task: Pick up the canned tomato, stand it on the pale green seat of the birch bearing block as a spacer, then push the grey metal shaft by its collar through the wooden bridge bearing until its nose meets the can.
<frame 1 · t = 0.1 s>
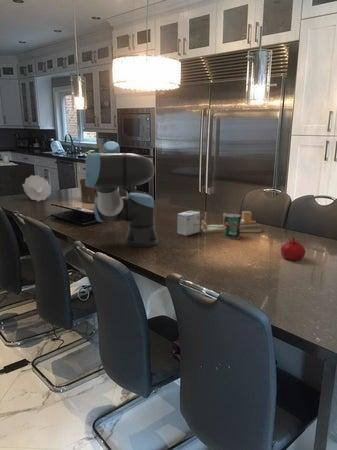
hand: (114, 199, 198), 15 cm above the table, tool tilted 35°, fingers open, 13 cm apart
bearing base: (230, 229, 200), on the table
pomegranate: (292, 258, 157), on the table
plant pot: (91, 202, 270), on the table
canned tomato: (231, 236, 188), on the table
light bulb box: (188, 233, 194), on the table
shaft: (241, 219, 199), point 6 cm above the table, slide at 6.0 cm
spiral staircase: (37, 199, 278), on the table
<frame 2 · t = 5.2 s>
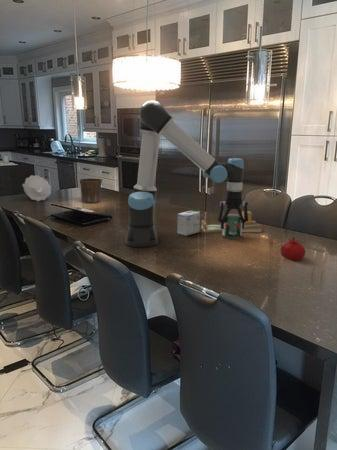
hand: (231, 234, 188), 1 cm above the table, tool pointing down, fingers closed on canned tomato, 8 cm apart
canned tomato: (231, 236, 188), on the table, touching gripper
everything else where it was.
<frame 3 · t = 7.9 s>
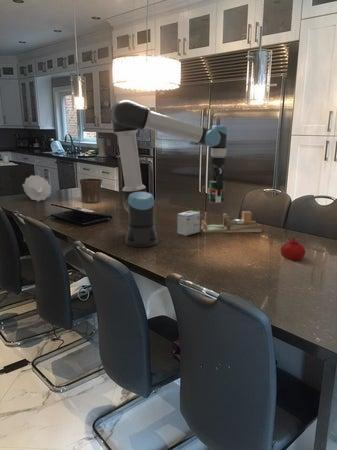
hand: (216, 200, 195), 16 cm above the table, tool pointing down, fingers closed on canned tomato, 8 cm apart
canned tomato: (216, 202, 195), point 15 cm above the table, touching gripper
everything else where it was.
when the fingers open (4 cm above the table, at t = 10.4 s): canned tomato drops 1 cm, resting on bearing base.
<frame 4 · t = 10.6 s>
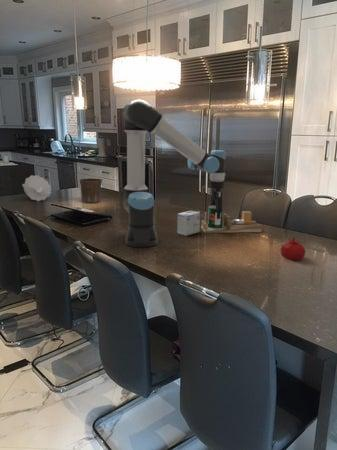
hand: (215, 221, 198), 4 cm above the table, tool pointing down, fingers open, 10 cm apart
canned tomato: (214, 227, 199), point 2 cm above the table, touching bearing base
everything else where it was.
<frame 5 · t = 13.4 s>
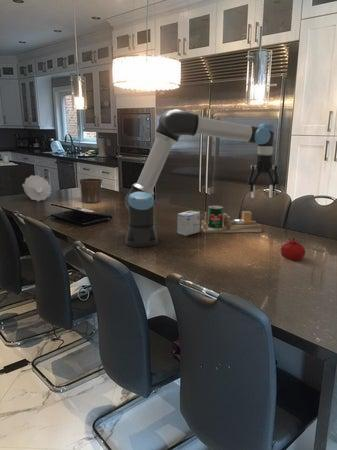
hand: (261, 197, 197), 18 cm above the table, tool pointing down, fingers open, 9 cm apart
nothing on the table moved.
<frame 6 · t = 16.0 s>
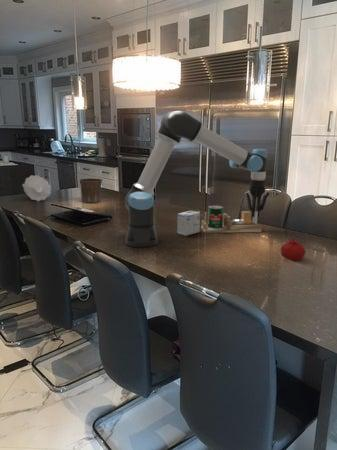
hand: (254, 222, 200), 4 cm above the table, tool pointing down, fingers closed
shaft: (241, 219, 199), point 6 cm above the table, slide at 5.8 cm, touching gripper
everything else where it was.
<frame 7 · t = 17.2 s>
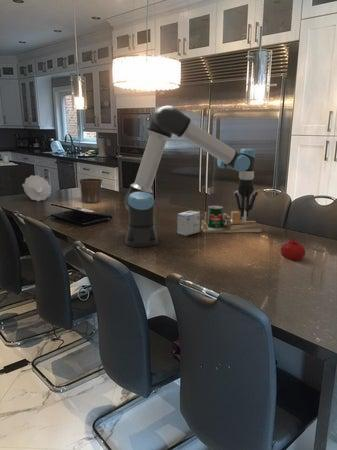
hand: (244, 222, 199), 4 cm above the table, tool pointing down, fingers closed
canned tomato: (214, 227, 199), point 1 cm above the table, touching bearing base, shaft
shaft: (230, 219, 198), point 6 cm above the table, slide at -0.1 cm, touching canned tomato, gripper
everything else where it was.
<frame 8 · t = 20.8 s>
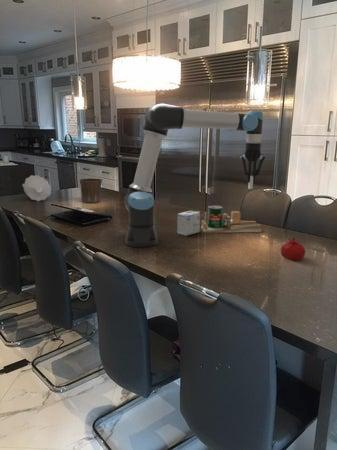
hand: (250, 188, 195), 22 cm above the table, tool pointing down, fingers closed
canned tomato: (214, 227, 199), point 1 cm above the table, touching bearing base
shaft: (230, 219, 198), point 6 cm above the table, slide at 0.0 cm
everything else where it was.
at the end: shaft slide at 0.0 cm; canned tomato inside the target area (0.3 cm from its centre), point 1.5 cm above the table; canned tomato tilted 0° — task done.
